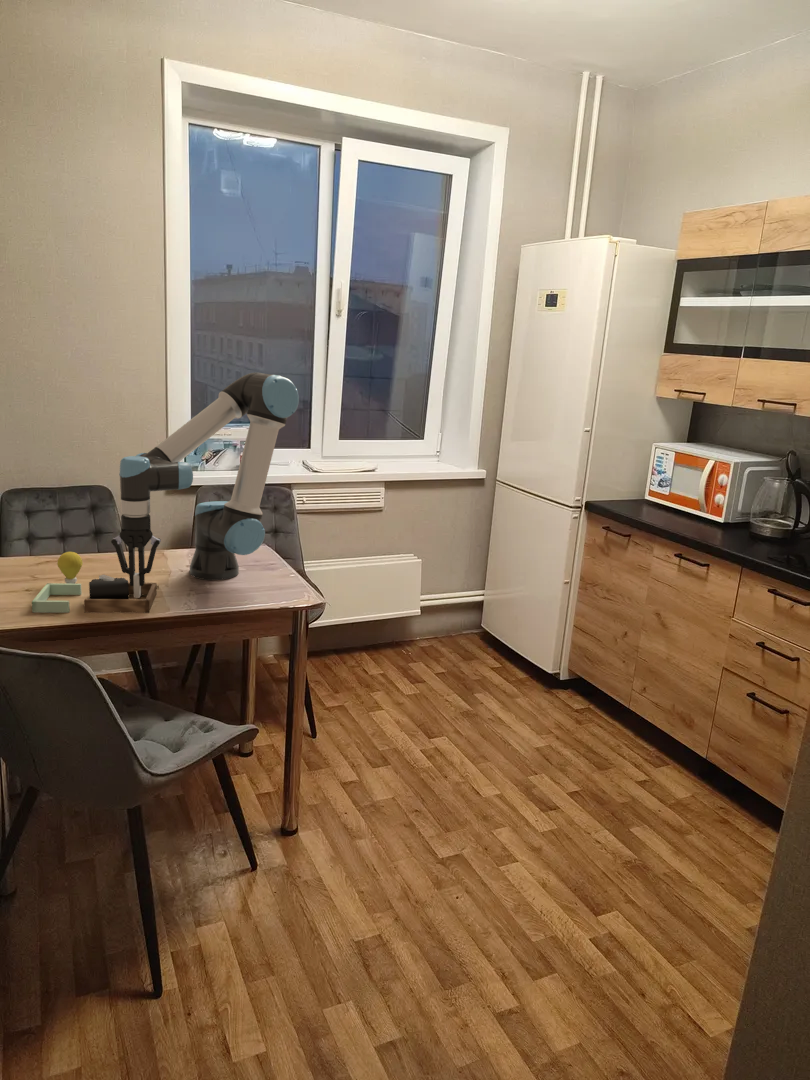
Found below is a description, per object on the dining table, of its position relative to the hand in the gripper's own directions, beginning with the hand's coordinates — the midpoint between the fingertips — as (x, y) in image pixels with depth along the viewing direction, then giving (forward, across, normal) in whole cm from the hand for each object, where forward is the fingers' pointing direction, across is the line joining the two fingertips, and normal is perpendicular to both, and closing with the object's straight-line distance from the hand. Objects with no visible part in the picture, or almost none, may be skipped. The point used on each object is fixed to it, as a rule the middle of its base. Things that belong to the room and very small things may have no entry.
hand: (137, 596), depth 212 cm
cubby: (+2, +4, 0) cm, 5 cm away
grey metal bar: (+2, +10, -18) cm, 20 cm away
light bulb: (+2, +21, -15) cm, 26 cm away
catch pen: (+2, +21, 0) cm, 21 cm away
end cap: (+2, +7, 0) cm, 8 cm away
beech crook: (+2, +1, -11) cm, 11 cm away
